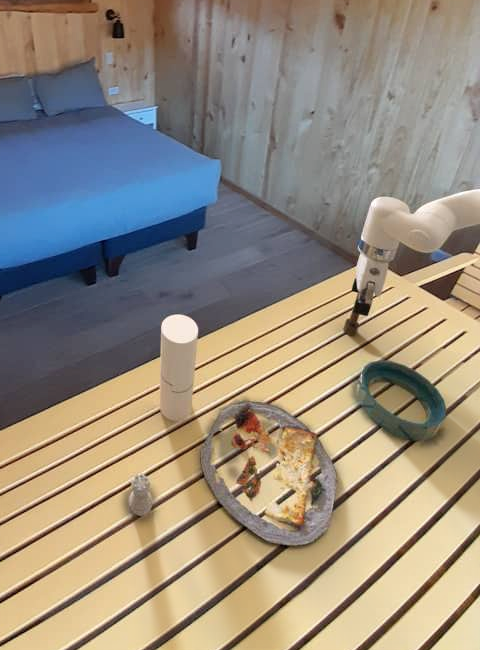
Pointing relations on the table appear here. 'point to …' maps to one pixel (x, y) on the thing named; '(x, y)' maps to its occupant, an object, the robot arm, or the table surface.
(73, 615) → the table surface
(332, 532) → the table surface
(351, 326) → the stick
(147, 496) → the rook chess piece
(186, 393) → the cylindrical container
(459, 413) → the table surface
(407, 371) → the ring
